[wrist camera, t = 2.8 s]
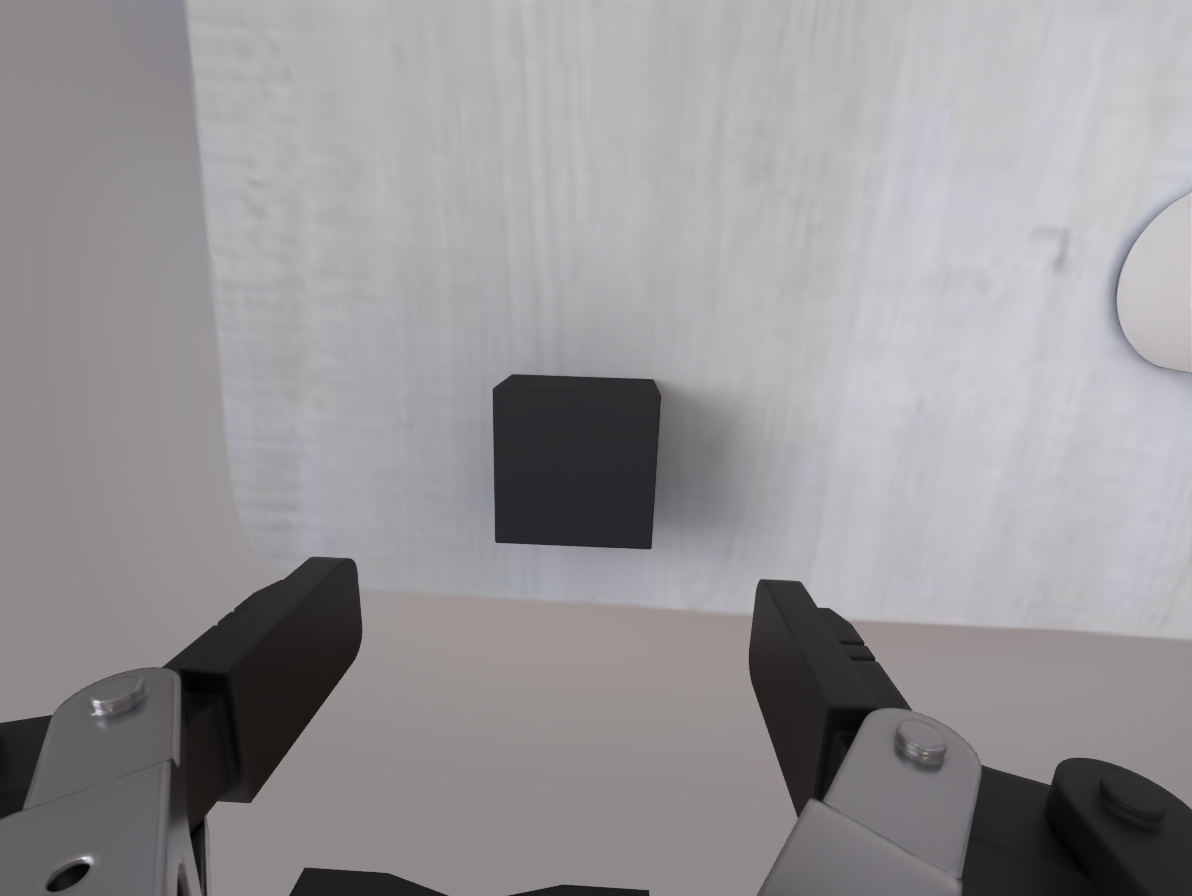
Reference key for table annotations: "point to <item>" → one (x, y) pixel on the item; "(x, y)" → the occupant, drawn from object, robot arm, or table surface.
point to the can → (1160, 289)
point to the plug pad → (575, 460)
